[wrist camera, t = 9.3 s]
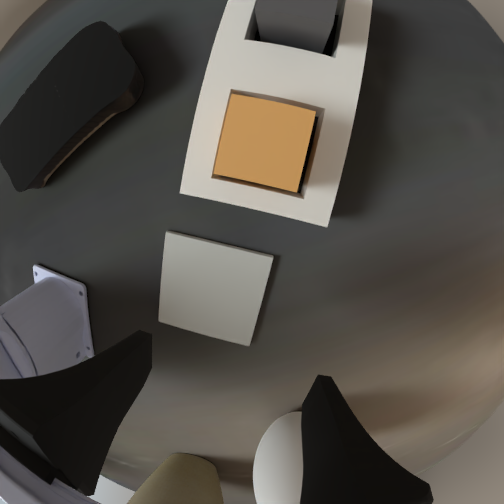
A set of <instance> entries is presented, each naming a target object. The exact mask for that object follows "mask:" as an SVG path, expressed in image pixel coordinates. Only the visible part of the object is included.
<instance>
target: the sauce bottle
mask: <svg viewBox="0 0 504 504" xmlns="http://www.w3.org/2000/svg"><path fill="white" fill-rule="evenodd" d="M301 415H302V412H290V413H288V414H286V415H284V416H281V417H279V418H278V419H276V420H275V421H274V422H273V423H272V424H271V425H270V427H269V428H268V429H267V431H266V432H265V434H264V435H263V437H262V439H261V441H260V443H259V445H258V448H257V452H256V455H255V460H254V466H253V486H254V493H255V497H256V502H257V504H300V498H301V490H302V479H303V453H302V435H301Z"/></svg>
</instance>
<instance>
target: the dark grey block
mask: <svg viewBox="0 0 504 504" xmlns="http://www.w3.org/2000/svg"><path fill="white" fill-rule="evenodd" d="M337 1H338V0H257V3H256V6H255V14H256V19H257V24H258V29H259V34H260V39H261V42H266V43H272V44H278V45H283V46H289V47H293V48H298V49H303V50H307V51H311V52H315V53H319V54H322V52H323V50H324V47H325V45H326V42H327V39H328V37H329V34H330V32H331V29H332V26H333V23H334V18H335V12H336V7H337Z"/></svg>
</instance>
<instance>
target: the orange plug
mask: <svg viewBox="0 0 504 504" xmlns="http://www.w3.org/2000/svg"><path fill="white" fill-rule="evenodd" d="M315 114H316V111H312V110H309V109H305V108H301V107H297V106H292V105H288V104H284V103H279V102H275V101H270V100H265V99H259V98H254V97H248V96H242V95H236V94H231V98H230V102H229V106H228V110H227V115H226V119H225V123H224V128H223V132H222V136H221V141H220V145H219V150H218V155H217V159H216V164H215V169H214V174H218V175H223V176H227V177H232V178H237V179H241V180H246V181H251V182H255V183H259V184H264V185H268V186H272V187H276V188H280V189H284V190H288V191H292V192H296V193H297V190H298V186H299V182H300V178H301V174H302V170H303V165H304V161H305V157H306V153H307V149H308V145H309V140H310V136H311V132H312V127H313V123H314V119H315Z"/></svg>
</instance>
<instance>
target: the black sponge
mask: <svg viewBox="0 0 504 504" xmlns="http://www.w3.org/2000/svg"><path fill="white" fill-rule="evenodd" d="M143 87H144V78H143V76H142V74H141V72H140V70H139V68H138V66H137V64H136V63H135V61H134V59H133V58H132V56H131V55H130V54H129V53H128V52H127V50H126V49H125V48H124V46H123V44H122V42H121V36H120V35H119V34H118V32H117V31H116V30H115V29H113V28H112V27H111V26H109V25H108V24H107V23H105V22H102V21H99V22H95V23H93V24H91V25H89V26H87V27H85V28H84V29H82V30H81V31H79V32H78V33H77V34H76V35H75V36H74V37H73V38H72V39H71V40H70V41H69V42H68V43H67V44H66V45H65V46H64V47H63V49H61V50H60V51H59V52H58V53H57V54H56V55H55V56H54V57H53V59H52V60H51V61H50V62H49V64H48V65H47V66H46V67H45V68H44V69H43V70H42V71H41V73H40V74H39V75H38V77H37V78H36V79H35V80H34V81H33V83H32V84H31V85H30V86H29V88H28V89H27V90H26V91H25V93H24V94H23V95H22V96H21V97H20V99H19V100H18V102H17V104H16V105H15V106H14V108H13V110H12V111H11V112H10V113H9V114H8V116H7V117H6V118H5V119H4V120H3V122H2V123H1V125H0V161H1V163H2V165H3V168H4V169H5V170H6V172H7V173H8V175H9V177H10V179H11V181H12V184H13V186H14V188H15V189H16V190H17V191H18V192H23V191H25V190H27V189H34V188H35V189H39V188H42V187H43V186H45V183H46V181H47V180H48V178H49V177H50V176H51V175H52V174H53V172H54V171H55V170H56V169H57V168H58V167H59V166H60V165H61V164H62V162H63V161H65V159H66V158H67V157H68V156H70V154H71V153H72V152H73V151H74V150H75V149H76V148H77V147H78V146H79V145H81V144H82V143H83V142H84V141H85V140H86V139H87V138H89V137H90V136H91V135H92V134H93V133H94V132H95V131H96V130H97V129H98V128H100V127H101V126H102V125H103V124H104V123H105V122H106V121H107V120H109V119H110V118H111V117H112V116H114V115H115V114H117V113H120V112H123V111H125V110H127V109H129V108H130V107H131V106H132V105H133V104H134V103H136V101H137V100H138V99H139V97H140V95H141V93H142V91H143Z"/></svg>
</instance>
